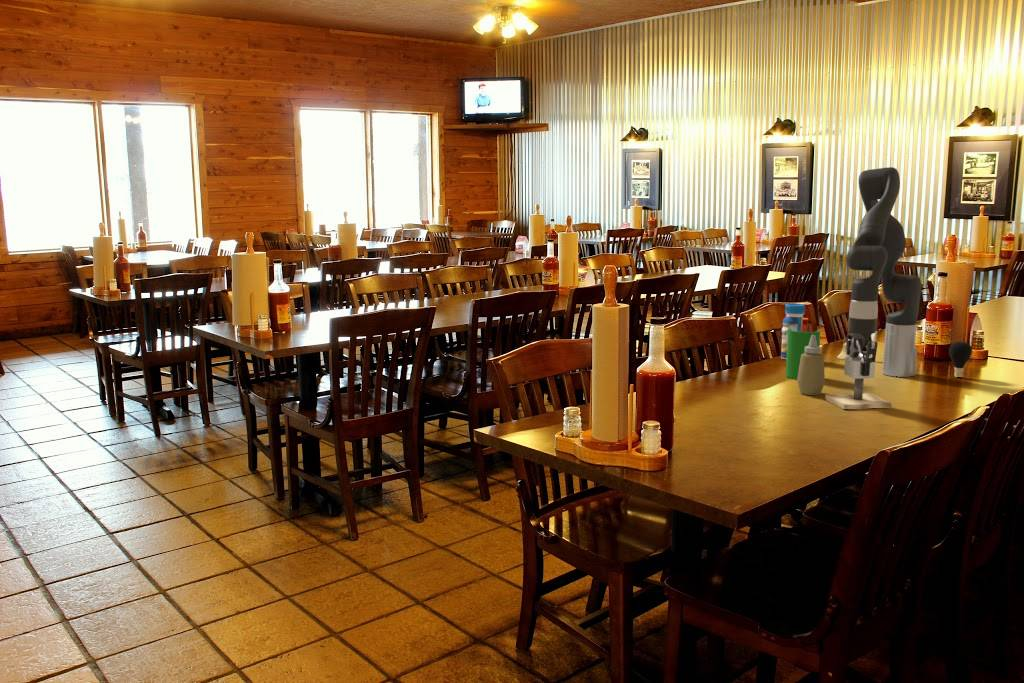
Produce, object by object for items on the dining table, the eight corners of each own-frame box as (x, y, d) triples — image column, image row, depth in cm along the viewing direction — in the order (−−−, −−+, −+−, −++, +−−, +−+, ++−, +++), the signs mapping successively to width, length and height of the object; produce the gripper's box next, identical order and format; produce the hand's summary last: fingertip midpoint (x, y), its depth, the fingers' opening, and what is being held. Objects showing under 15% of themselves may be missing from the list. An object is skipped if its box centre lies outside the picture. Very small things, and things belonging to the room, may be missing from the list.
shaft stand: (870, 398, 263) (872, 368, 262) (891, 408, 252) (893, 377, 250) (825, 399, 262) (826, 369, 260) (844, 409, 250) (846, 378, 249)
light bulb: (947, 378, 288) (950, 342, 286) (946, 374, 294) (949, 339, 292) (970, 380, 286) (973, 343, 283) (968, 376, 292) (971, 340, 290)
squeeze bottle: (825, 391, 272) (829, 334, 268) (822, 397, 264) (826, 338, 261) (798, 389, 275) (801, 332, 272) (794, 395, 268) (797, 336, 265)
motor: (814, 374, 296) (818, 315, 292) (821, 380, 287) (824, 319, 284) (783, 374, 297) (786, 315, 293) (789, 379, 288) (792, 319, 285)
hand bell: (834, 355, 327) (837, 313, 324) (858, 356, 326) (861, 313, 323) (839, 360, 319) (842, 316, 316) (863, 360, 318) (866, 316, 315)
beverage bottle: (807, 361, 317) (810, 306, 313) (784, 361, 317) (786, 306, 314) (800, 356, 325) (803, 302, 322) (777, 356, 325) (780, 303, 322)
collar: (864, 373, 259) (865, 356, 258) (874, 378, 253) (875, 360, 252) (844, 374, 258) (845, 357, 257) (854, 378, 252) (855, 361, 251)
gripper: (888, 319, 246) (884, 378, 249) (863, 312, 260) (859, 368, 263) (862, 320, 245) (858, 379, 248) (838, 312, 259) (835, 368, 262)
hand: (859, 373), depth 255 cm, fingers closed on collar, 6 cm apart
